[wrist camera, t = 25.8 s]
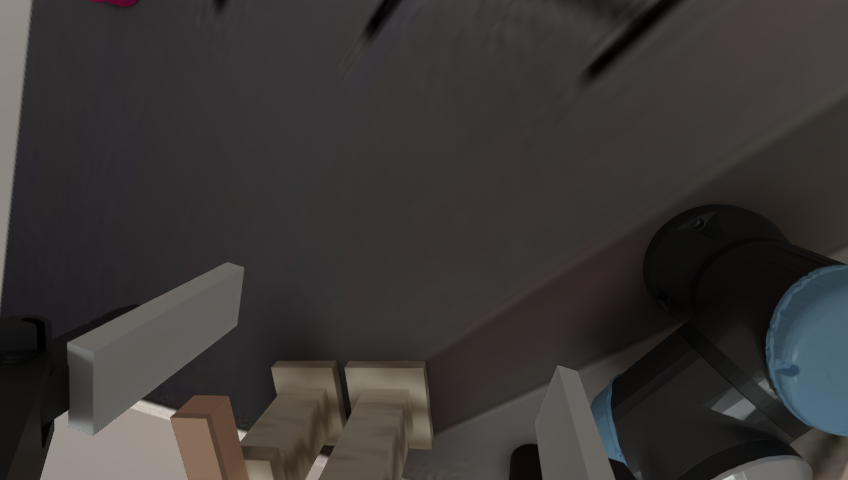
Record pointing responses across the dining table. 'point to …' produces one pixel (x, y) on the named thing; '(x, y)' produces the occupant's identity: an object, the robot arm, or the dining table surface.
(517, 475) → the coffee mug
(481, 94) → the dining table surface
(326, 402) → the two-tier stand
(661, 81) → the dining table surface
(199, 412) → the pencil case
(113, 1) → the pepper mill
